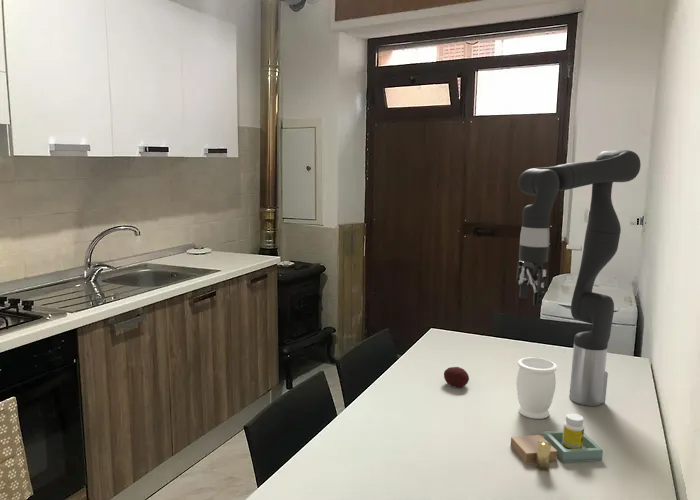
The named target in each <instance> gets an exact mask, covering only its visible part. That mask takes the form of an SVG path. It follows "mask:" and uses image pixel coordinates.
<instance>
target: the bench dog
mask: <svg viewBox="0 0 700 500" xmlns="http://www.w3.org/2000/svg"><path fill="white" fill-rule="evenodd" d="M550 451H551V444H550V443H549V442H547V441H538V442H537V455H536V463H535V468H536V469H537V470H538V471H541V472H547V471H549V469H550Z"/></svg>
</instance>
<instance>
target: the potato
mask: <svg viewBox="0 0 700 500" xmlns="http://www.w3.org/2000/svg"><path fill="white" fill-rule="evenodd" d="M443 378H444V381H445V382H446V383H447V384H448V385H450V386H451V387H454V388H458V389H459V388H460V389H461V388H463V387H465V386H466V385H467V384H468V383H469V381H470V376H469V374H468V373H467V371H466V370H465V369H463V367H459V366H451V367H448V368H447V369H444V373H443Z"/></svg>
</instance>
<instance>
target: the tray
mask: <svg viewBox="0 0 700 500" xmlns="http://www.w3.org/2000/svg"><path fill="white" fill-rule="evenodd" d="M543 438H544V439H545V440H546V441H547V442H549V443H550V444H551V445H552V446H553V447H554V448H555V449H556V450H557V459H559V460H560V461H561V462H562V463H580V462H582V463H583V462H598V461H603V454H604V453H603V452H604V449H603V448H602V447H600V446H599V445H598V444H597V443H596V442H595V441H594V440H593V439H592V438H591V437H589V436H588V434H586V433H585V432H584V436H583V447H582V449H565V448H564V447H563V446H562V440H563V430H549V431H547V430H546V431H543Z"/></svg>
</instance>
